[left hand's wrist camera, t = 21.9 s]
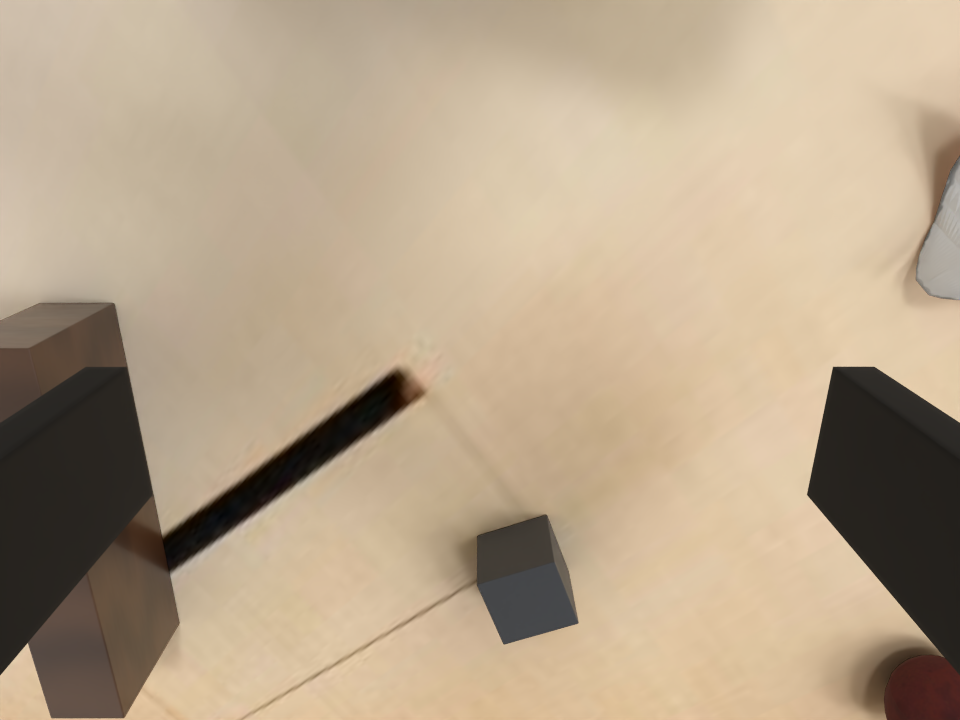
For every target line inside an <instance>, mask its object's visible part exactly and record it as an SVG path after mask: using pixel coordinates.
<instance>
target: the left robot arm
mask: <svg viewBox="0 0 960 720" xmlns="http://www.w3.org/2000/svg"><path fill="white" fill-rule="evenodd" d="M152 495H153V493H152V488H151V483H150V478H149V473H148V468H147V463H146V458H145V454H144V449H143V444H142V439H141V434H140V429H139V424H138V419H137V414H136V409H135V404H134V399H133V394H132V390H131V385H130V380H129V375H128V370H127V367H85V368H83V369H82V370H80V371H79V372H77V373H76V374H74V375H72V376H71V377H69V378H68V379H66V380H65V381H63V382H62V383H60V384H59V385H57V386H56V387H54V388H53V389H51V390H50V391H48V392H47V393H45V394H44V395H42V396H40V397H39V398H37V399H36V400H34V401H33V402H31V403H30V404H28V405H27V406H25V407H24V408H22V409H21V410H19V411H18V412H16V413H15V414H13V415H12V416H10V417H8V418H7V419H5V420H4V421H2V422H1V423H0V675H1V674H2V673H3V671H4V670H5V669H6V668H7V667H8V665H9V664H10V663H11V662H12V661H13V660H14V658H15V657H16V656H17V655H18V654H19V652H20V651H21V650H22V649H23V648H24V647H25V645H26V644H27V643H28V642H29V641H30V639H31V638H32V637H33V636H34V635H35V634H36V632H37V631H38V630H39V629H40V628H41V626H42V625H43V624H44V623H45V622H46V621H47V619H48V618H49V617H50V616H51V615H52V613H53V612H54V611H55V610H56V609H57V608H58V606H59V605H60V604H61V603H62V602H63V600H64V599H65V598H66V597H67V596H68V595H69V593H70V592H71V591H72V590H73V589H74V587H75V586H76V585H77V584H78V583H79V582H80V580H81V579H82V578H83V577H84V576H85V574H86V573H87V572H88V571H89V570H90V569H91V567H92V566H93V565H94V564H95V563H96V561H97V560H98V559H99V558H100V557H101V556H102V554H103V553H104V552H105V551H106V550H107V548H108V547H109V546H110V545H111V544H112V543H113V541H114V540H115V539H116V538H117V537H118V535H119V534H120V533H121V532H122V531H123V530H124V528H125V527H126V526H127V525H128V524H129V522H130V521H131V520H132V519H133V518H134V517H135V515H136V514H137V513H138V512H139V511H140V509H141V508H142V507H143V506H144V505H145V504H146V502H147V501H148V500H149V499H150V498H151V496H152ZM807 495H808V496H809V498H810V499H811V500H812V501H813V502H814V504H815V505H816V506H817V507H818V508H819V509H820V511H821V512H822V513H823V514H824V515H825V517H826V518H827V519H828V520H829V521H830V522H831V524H832V525H833V526H834V527H835V528H836V530H837V531H838V532H839V533H840V534H841V535H842V537H843V538H844V539H845V540H846V541H847V543H848V544H849V545H850V546H851V547H852V548H853V550H854V551H855V552H856V553H857V554H858V556H859V557H860V558H861V559H862V560H863V561H864V563H865V564H866V565H867V566H868V567H869V569H870V570H871V571H872V572H873V573H874V574H875V576H876V577H877V578H878V579H879V580H880V582H881V583H882V584H883V585H884V586H885V587H886V589H887V590H888V591H889V592H890V593H891V595H892V596H893V597H894V598H895V599H896V600H897V602H898V603H899V604H900V605H901V606H902V608H903V609H904V610H905V611H906V612H907V613H908V615H909V616H910V617H911V618H912V619H913V621H914V622H915V623H916V624H917V625H918V626H919V628H920V629H921V630H922V631H923V632H924V634H925V635H926V636H927V637H928V638H929V639H930V641H931V642H932V643H933V644H934V645H935V647H936V648H937V649H938V650H939V651H940V652H941V654H942V655H943V656H944V657H945V658H946V660H947V661H948V662H949V663H950V664H951V665H952V667H953V668H954V669H955V670H956V671H957V673H958V674H959V675H960V423H959V422H958V421H956V420H955V419H953V418H952V417H950V416H948V415H947V414H945V413H944V412H942V411H941V410H939V409H938V408H936V407H935V406H933V405H932V404H930V403H929V402H927V401H926V400H924V399H923V398H921V397H920V396H918V395H916V394H915V393H913V392H912V391H910V390H909V389H907V388H906V387H904V386H903V385H901V384H900V383H898V382H897V381H895V380H894V379H892V378H891V377H889V376H888V375H886V374H884V373H883V372H881V371H880V370H878V369H877V368H875V367H833V370H832V375H831V380H830V385H829V390H828V394H827V399H826V404H825V409H824V414H823V419H822V424H821V429H820V434H819V439H818V444H817V449H816V453H815V458H814V463H813V468H812V473H811V478H810V483H809V488H808V493H807Z"/></svg>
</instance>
